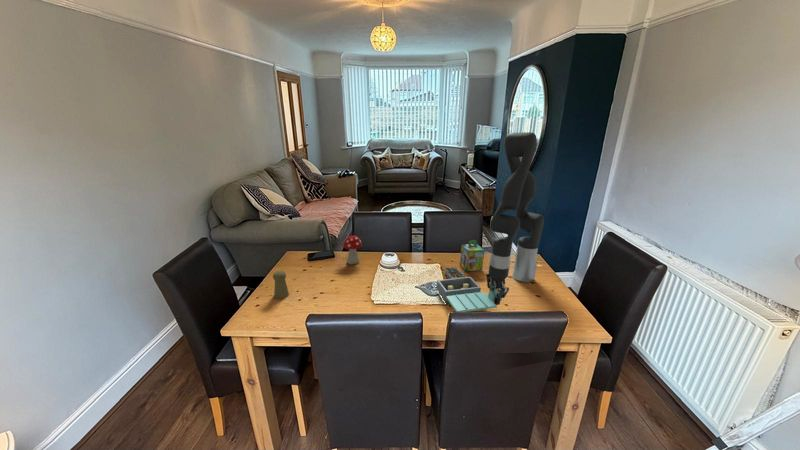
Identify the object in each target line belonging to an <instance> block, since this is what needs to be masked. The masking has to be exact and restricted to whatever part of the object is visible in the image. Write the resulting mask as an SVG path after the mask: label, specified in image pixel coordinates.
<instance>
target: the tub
mask: <svg viewBox="0 0 800 450" xmlns="http://www.w3.org/2000/svg"><path fill="white" fill-rule="evenodd" d="M437 290H438V291H439V293H440V295H441V296H442V298H443V300H444V301H445V303H446V304H445V305H451V304H450V303H449V301H448V300H447V298H446V296H452V295H456V294H457V295H461V294H465V293H467V294H469V293H474V292H476V293H478V292H482V291H481V290H482V287H481V285H479V284H478V283H477V282H476V281H475V280H474V279H473V278H472V277H471V276H464V277H463V278H457V277H454V279H450V278H447V279H439V280H436V291H437Z"/></svg>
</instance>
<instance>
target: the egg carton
mask: <svg viewBox="0 0 800 450" xmlns="http://www.w3.org/2000/svg"><path fill="white" fill-rule="evenodd" d="M455 275H456V276H457V277H456V276H455ZM444 276H446V277H447V279H454V278H455V277H456V278H463V277H466V275H465V273H464V272H462V271H461V270H460V269H458V268H457V267H453V266H452V267H451V266H449V267H448V266H447V267H445V266H444Z"/></svg>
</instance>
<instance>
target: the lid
mask: <svg viewBox="0 0 800 450" xmlns="http://www.w3.org/2000/svg"><path fill="white" fill-rule="evenodd" d="M498 294H499V292H498ZM446 298H447V300H448V301H449V303H450V304H449V305H450V306H451V307H452V308H453V309H454V311H455V312H456V313H457V312H460V313H465V312H466V313H467V312H475V311H481V310H488V309H489V310H490V309H496V308H498V305H496V304H495V303H494V300H495V291H488V295H487V294H486V293H485V292H484V291H480V292H478V293H476V292H474V293H469V294H467V293H465V294H461V295H457V294H456V295H452V296H446ZM502 299H503V298H501V299H500V302H502Z"/></svg>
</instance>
